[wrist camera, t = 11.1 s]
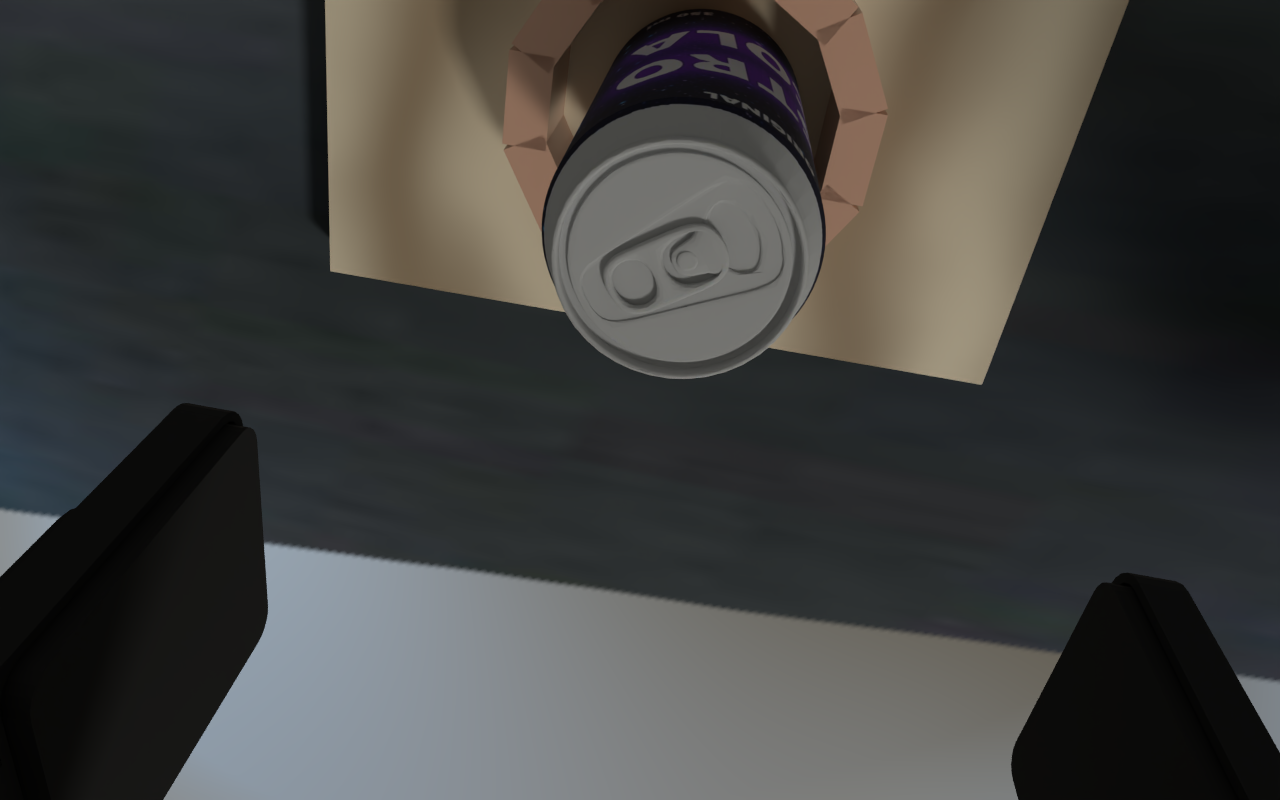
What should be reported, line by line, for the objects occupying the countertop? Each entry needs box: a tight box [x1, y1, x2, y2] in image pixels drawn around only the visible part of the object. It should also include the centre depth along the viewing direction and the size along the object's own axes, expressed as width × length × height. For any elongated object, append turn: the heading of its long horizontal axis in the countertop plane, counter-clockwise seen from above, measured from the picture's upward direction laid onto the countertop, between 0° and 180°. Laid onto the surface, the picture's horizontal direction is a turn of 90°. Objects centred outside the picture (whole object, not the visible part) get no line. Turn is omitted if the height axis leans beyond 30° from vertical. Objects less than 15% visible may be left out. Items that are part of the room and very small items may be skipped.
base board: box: [325, 0, 1129, 385], centre depth 29 cm, size 22×15×2 cm
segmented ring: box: [502, 0, 888, 246], centre depth 27 cm, size 10×10×3 cm
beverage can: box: [542, 9, 826, 379], centre depth 24 cm, size 6×6×12 cm
